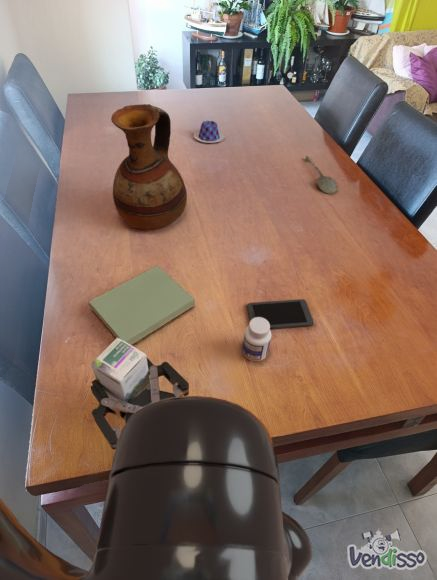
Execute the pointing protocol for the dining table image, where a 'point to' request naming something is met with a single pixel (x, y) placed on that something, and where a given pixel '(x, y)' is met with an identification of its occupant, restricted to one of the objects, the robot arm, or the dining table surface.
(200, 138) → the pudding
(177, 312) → the green flat block
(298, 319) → the cell phone
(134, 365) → the syrup box
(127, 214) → the ceramic pitcher
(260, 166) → the dining table surface
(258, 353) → the pill bottle
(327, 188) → the soupspoon
